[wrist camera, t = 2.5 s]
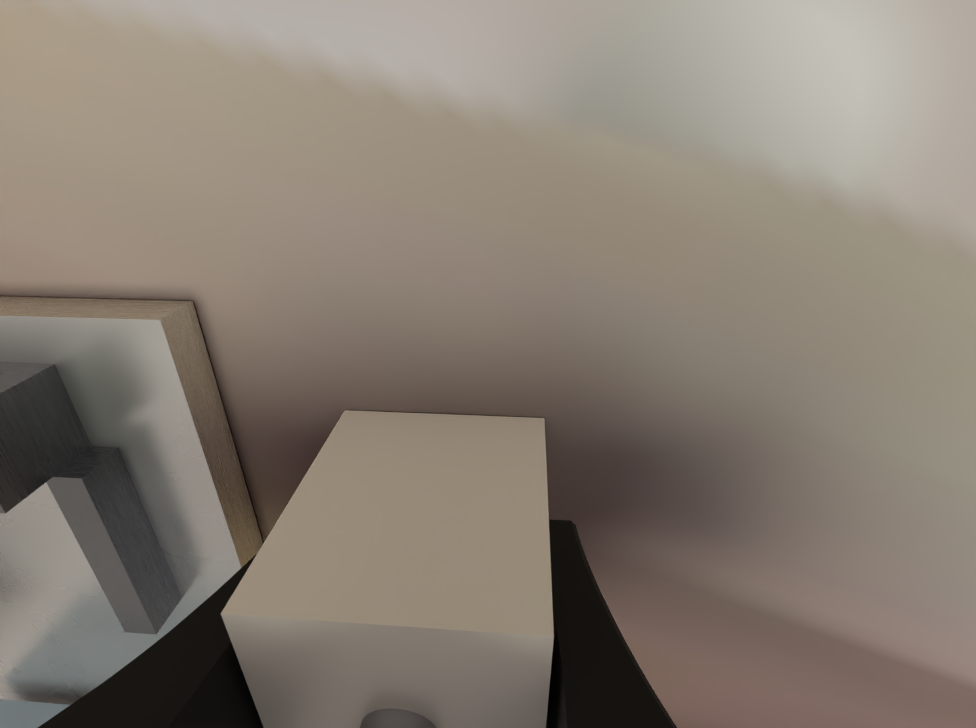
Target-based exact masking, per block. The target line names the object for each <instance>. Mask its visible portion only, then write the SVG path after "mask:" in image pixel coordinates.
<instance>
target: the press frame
mask: <svg viewBox="0 0 976 728" xmlns="http://www.w3.org/2000/svg"><path fill="white" fill-rule="evenodd" d="M262 545H263V542H262V538H261V535H260V531H259V528H258V524H257V521H256V518H255V514H254V511H253V507H252V504H251V500H250V497H249V493H248V490H247V487H246V483H245V480H244V476H243V473H242V469H241V466H240V463H239V459H238V456H237V452H236V449H235V445H234V442H233V438H232V435H231V432H230V428H229V425H228V421H227V418H226V414H225V411H224V407H223V404H222V401H221V397H220V394H219V390H218V387H217V383H216V380H215V376H214V373H213V370H212V366H211V363H210V359H209V356H208V352H207V349H206V345H205V342H204V339H203V335H202V332H201V328H200V325H199V321H198V318H197V314H196V311H195V308H194V304H193V301H168V300H126V299H85V298H43V297H2V296H0V699H6V700H18V701H29V702H41V703H53V704H65V705H71V704H73V703H74V702H76V701H77V700H78V699H80V698H81V697H83V696H84V695H86V694H87V693H89V692H90V691H91V690H93V689H94V688H96V687H97V686H99V685H100V684H102V683H103V682H104V681H106V680H107V679H108V678H110V677H111V676H113V675H114V674H115V673H117V672H118V671H119V670H121V669H122V668H123V667H125V666H126V665H127V664H129V663H130V662H131V661H132V660H134V659H135V658H136V657H138V656H139V655H140V654H142V653H143V652H144V651H146V650H147V649H148V648H149V647H151V646H152V645H153V644H154V643H156V642H157V641H158V640H159V639H161V638H162V637H163V636H164V635H165V634H167V633H168V632H169V631H170V630H172V629H173V628H174V627H175V626H176V625H178V624H179V623H180V622H181V621H182V620H183V619H185V618H186V617H187V616H188V615H189V614H190V613H192V612H193V611H194V610H195V609H196V608H197V607H198V606H200V605H201V604H202V603H203V602H204V601H205V600H207V599H208V598H209V597H210V596H211V595H212V594H213V593H215V592H216V591H217V590H218V589H219V588H220V587H221V586H222V585H223V584H225V583H226V582H227V581H228V580H229V579H230V578H231V577H232V576H233V575H234V574H235V573H236V572H237V571H239V570H240V569H241V568H242V567H243V566H244V565H245V564H246V563H247V562H248V561H249V560H250V559H251V558H252V557H254V556H255V555H256V554H257V553H258V552H259V550H260V548H261V547H262Z"/></svg>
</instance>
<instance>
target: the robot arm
mask: <svg viewBox="0 0 976 728" xmlns="http://www.w3.org/2000/svg"><path fill="white" fill-rule="evenodd" d="M549 534H550V558H551V581H552V604H553V628H554V641H553V652H552V664H551V675H550V686H549V697H548V709H547V720H546V728H677V727H676V725H675V724H674V722H673V721H672V719H671V718H670V716H669V715H668V713H667V711H666V710H665V708H664V707H663V705H662V703H661V702H660V700H659V699H658V697H657V696H656V694H655V692H654V691H653V689H652V687H651V686H650V684H649V682H648V681H647V679H646V677H645V675H644V674H643V672H642V670H641V669H640V667H639V665H638V663H637V662H636V660H635V658H634V656H633V654H632V652H631V651H630V649H629V647H628V645H627V643H626V642H625V640H624V638H623V636H622V634H621V632H620V630H619V628H618V626H617V624H616V623H615V621H614V618H613V616H612V614H611V612H610V610H609V608H608V606H607V604H606V602H605V600H604V598H603V596H602V594H601V592H600V589H599V587H598V585H597V583H596V580H595V578H594V576H593V573H592V571H591V569H590V566H589V564H588V561H587V559H586V556H585V553H584V551H583V548H582V545H581V542H580V539H579V536H578V533H577V529H576V525H575V524H574V523H572V522H571V521H565V520H549ZM256 555H257V554H256ZM256 555H255V556H254V557H252V558H251V559H250V560H249V561H248V562H247V563H246V564H245V565H244V566H243V567H242V568H241V569H240V570H239V571H237V572H236V573H235V574H234V575H233V576H232V577H231V578H230V579H229V580H228V581H227V582H226V583H225V584H223V585H222V586H221V587H220V588H219V589H218V590H217V591H216V592H215V593H213V594H212V595H211V596H210V597H209V598H208V599H207V600H205V601H204V602H203V603H202V604H201V605H200V606H198V607H197V608H196V609H195V610H194V611H193V612H192V613H190V614H189V615H188V616H187V617H186V618H185V619H183V620H182V621H181V622H180V623H179V624H178V625H176V626H175V627H174V628H173V629H172V630H170V631H169V632H168V633H167V634H165V635H164V636H163V637H162V638H161V639H159V640H158V641H157V642H156V643H154V644H153V645H152V646H151V647H149V648H148V649H147V650H146V651H144V652H143V653H142V654H140V655H139V656H138V657H136V658H135V659H134V660H132V661H131V662H130V663H129V664H127V665H126V666H125V667H123V668H122V669H121V670H119V671H118V672H117V673H115V674H114V675H113V676H111V677H110V678H108V679H107V680H106V681H104V682H103V683H102V684H100V685H99V686H97V687H96V688H94V689H93V690H91V691H90V692H89V693H87V694H86V695H84V696H83V697H81V698H80V699H78V700H77V701H76V702H74V703H73V704H71V705H70V706H68V707H67V708H65V709H64V710H62V711H61V712H60V713H58V714H57V715H55V716H54V717H52V718H51V719H49V720H48V721H46V722H45V723H44V724H42V725H41V726H39V727H38V728H264V727H263V724H262V722H261V719H260V716H259V714H258V711H257V709H256V706H255V703H254V701H253V698H252V695H251V693H250V690H249V687H248V685H247V682H246V679H245V677H244V674H243V671H242V669H241V666H240V664H239V661H238V658H237V656H236V653H235V650H234V648H233V645H232V642H231V640H230V637H229V634H228V632H227V629H226V627H225V624H224V621H223V619H222V616H221V612H222V611H223V609H224V607H225V606H226V604H227V602H228V601H229V599H230V598H231V596H232V594H233V593H234V591H235V589H236V588H237V586H238V584H239V583H240V581H241V580H242V578H243V576H244V575H245V573H246V571H247V570H248V568H249V566H250V565H251V563H252V561H253V560H254V558H255V557H256Z"/></svg>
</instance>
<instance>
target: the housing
mask: <svg viewBox="0 0 976 728" xmlns="http://www.w3.org/2000/svg"><path fill="white" fill-rule="evenodd" d="M221 616H222V619H223V621H224V624H225V627H226V629H227V632H228V634H229V637H230V640H231V642H232V645H233V648H234V650H235V653H236V656H237V658H238V661H239V664H240V666H241V669H242V671H243V674H244V677H245V679H246V682H247V685H248V687H249V690H250V693H251V695H252V698H253V701H254V703H255V706H256V709H257V711H258V714H259V716H260V719H261V722H262V724H263V727H264V728H546V720H547V709H548V697H549V686H550V675H551V664H552V652H553V641H554V628H553V604H552V581H551V558H550V534H549V511H548V488H547V465H546V441H545V418H529V417H503V416H478V415H452V414H426V413H401V412H375V411H349V410H345V411H344V412H343V414H342V416H341V417H340V419H339V420H338V422H337V424H336V425H335V427H334V429H333V430H332V432H331V434H330V435H329V437H328V438H327V440H326V442H325V443H324V445H323V447H322V448H321V450H320V452H319V453H318V455H317V457H316V458H315V460H314V461H313V463H312V465H311V466H310V468H309V470H308V471H307V473H306V475H305V476H304V478H303V479H302V481H301V483H300V484H299V486H298V488H297V489H296V491H295V493H294V494H293V496H292V498H291V499H290V501H289V502H288V504H287V506H286V507H285V509H284V511H283V512H282V514H281V516H280V517H279V519H278V520H277V522H276V524H275V525H274V527H273V529H272V530H271V532H270V534H269V535H268V537H267V539H266V540H265V542H264V543H263V545H262V547H261V548H260V550H259V552H258V553H257V555H256V557H255V558H254V560H253V561H252V563H251V565H250V566H249V568H248V570H247V571H246V573H245V575H244V576H243V578H242V580H241V581H240V583H239V584H238V586H237V588H236V589H235V591H234V593H233V594H232V596H231V598H230V599H229V601H228V602H227V604H226V606H225V607H224V609H223V611H222V612H221Z"/></svg>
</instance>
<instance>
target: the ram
mask: <svg viewBox="0 0 976 728" xmlns="http://www.w3.org/2000/svg"><path fill="white" fill-rule="evenodd" d="M68 706H70V705H65V704H53V703H41V702H29V701H18V700H6V699H0V728H38V727H39V726H41V725H42V724H44V723H45V722H46V721H48V720H49V719H51V718H52V717H54V716H55V715H57V714H58V713H60V712H61V711H62V710H64V709H65V708H67V707H68Z"/></svg>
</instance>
